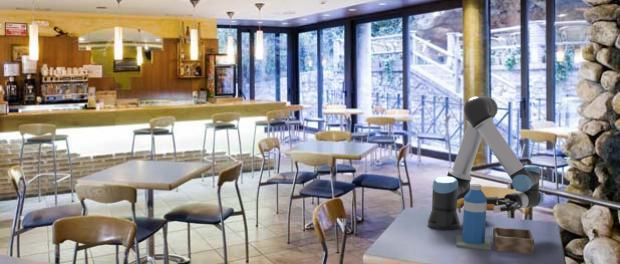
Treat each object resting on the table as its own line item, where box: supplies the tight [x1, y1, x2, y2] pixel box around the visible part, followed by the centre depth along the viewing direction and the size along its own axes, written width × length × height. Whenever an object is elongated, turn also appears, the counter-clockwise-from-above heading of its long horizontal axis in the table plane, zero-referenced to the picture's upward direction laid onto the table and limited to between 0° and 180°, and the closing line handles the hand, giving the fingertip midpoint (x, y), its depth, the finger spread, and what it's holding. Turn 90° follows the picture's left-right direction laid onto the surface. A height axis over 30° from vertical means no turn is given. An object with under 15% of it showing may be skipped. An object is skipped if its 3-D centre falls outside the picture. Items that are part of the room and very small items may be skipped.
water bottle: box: [461, 183, 488, 244], centre depth 234 cm, size 9×9×25 cm
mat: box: [456, 235, 492, 251], centre depth 235 cm, size 14×14×1 cm
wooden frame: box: [492, 226, 535, 255], centre depth 231 cm, size 15×15×6 cm
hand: (481, 206), depth 235 cm, fingers open, 13 cm apart
